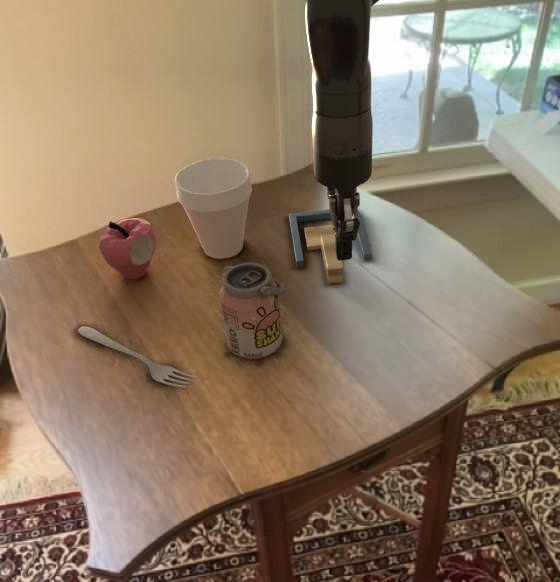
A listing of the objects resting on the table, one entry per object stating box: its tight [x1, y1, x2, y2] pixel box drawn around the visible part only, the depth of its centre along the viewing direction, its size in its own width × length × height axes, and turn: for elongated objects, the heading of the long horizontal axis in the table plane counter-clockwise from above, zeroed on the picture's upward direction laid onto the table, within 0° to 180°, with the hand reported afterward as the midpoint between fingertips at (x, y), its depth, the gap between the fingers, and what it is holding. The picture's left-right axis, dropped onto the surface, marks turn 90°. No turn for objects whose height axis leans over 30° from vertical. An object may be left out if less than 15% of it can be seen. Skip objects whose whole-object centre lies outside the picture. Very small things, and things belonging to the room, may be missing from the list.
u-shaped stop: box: [288, 209, 372, 268], centre depth 114 cm, size 15×12×1 cm
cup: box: [174, 157, 253, 260], centre depth 110 cm, size 12×12×14 cm
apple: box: [98, 217, 158, 280], centre depth 108 cm, size 10×9×10 cm
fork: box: [77, 325, 199, 389], centre depth 95 cm, size 3×24×2 cm, turn 52°
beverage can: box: [218, 262, 287, 361], centre depth 92 cm, size 9×8×12 cm
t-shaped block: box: [303, 224, 344, 284], centre depth 110 cm, size 16×7×3 cm, turn 4°
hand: (343, 257), depth 95 cm, fingers closed
